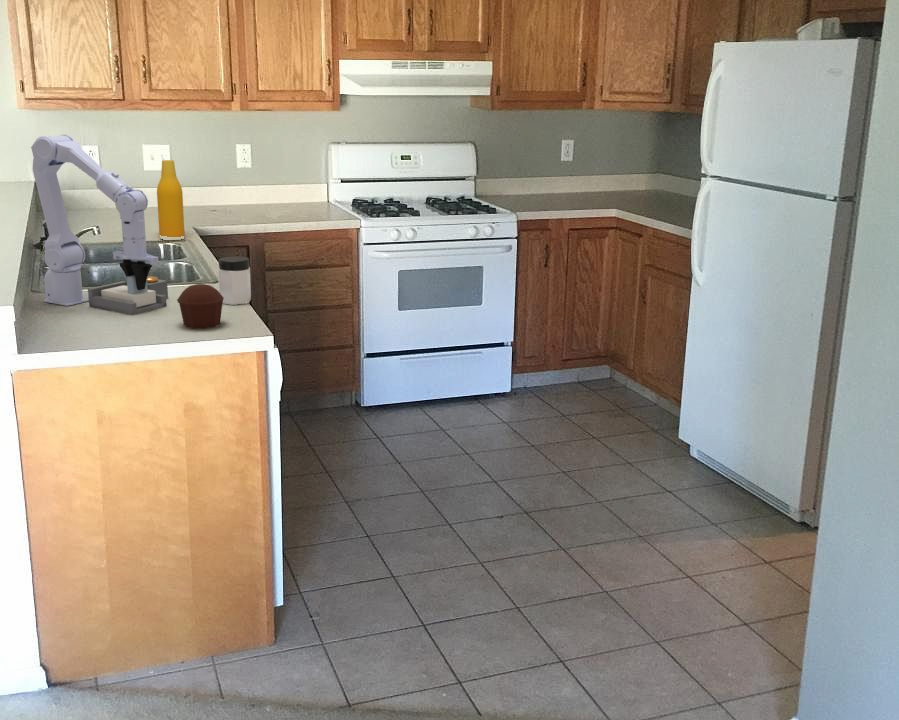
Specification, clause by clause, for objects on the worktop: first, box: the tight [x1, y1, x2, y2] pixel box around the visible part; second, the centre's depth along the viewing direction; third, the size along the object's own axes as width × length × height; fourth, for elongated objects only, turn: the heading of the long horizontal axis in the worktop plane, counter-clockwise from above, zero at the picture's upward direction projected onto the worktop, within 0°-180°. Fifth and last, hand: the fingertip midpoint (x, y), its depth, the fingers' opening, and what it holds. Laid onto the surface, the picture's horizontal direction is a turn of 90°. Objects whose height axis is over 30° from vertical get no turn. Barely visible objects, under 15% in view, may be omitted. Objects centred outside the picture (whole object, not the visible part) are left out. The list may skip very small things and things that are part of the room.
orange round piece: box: [147, 275, 159, 283], centre depth 269 cm, size 4×4×4 cm
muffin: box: [176, 283, 224, 330], centre depth 243 cm, size 12×11×10 cm
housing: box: [87, 279, 169, 316], centre depth 263 cm, size 16×19×5 cm
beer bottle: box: [156, 159, 186, 237], centre depth 361 cm, size 9×9×29 cm
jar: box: [218, 255, 252, 306], centre depth 267 cm, size 9×8×12 cm
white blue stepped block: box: [101, 275, 156, 307], centre depth 259 cm, size 12×8×8 cm, turn 61°
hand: (137, 288), depth 257 cm, fingers closed on white blue stepped block, 2 cm apart
